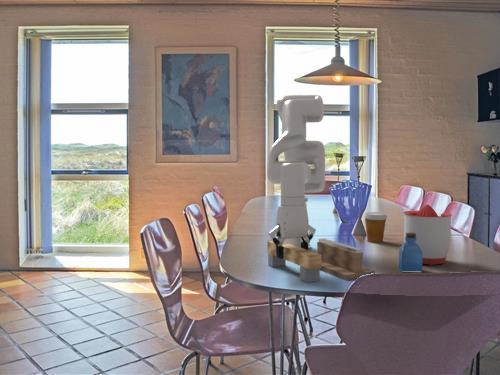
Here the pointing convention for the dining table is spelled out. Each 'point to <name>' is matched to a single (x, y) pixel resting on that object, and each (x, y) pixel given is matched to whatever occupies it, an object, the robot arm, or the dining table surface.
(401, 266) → the perfume bottle
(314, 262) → the oak batten
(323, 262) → the stand
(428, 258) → the citrus juicer
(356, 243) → the dining table surface
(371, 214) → the disposable coffee cup
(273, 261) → the pair of grey cubes
